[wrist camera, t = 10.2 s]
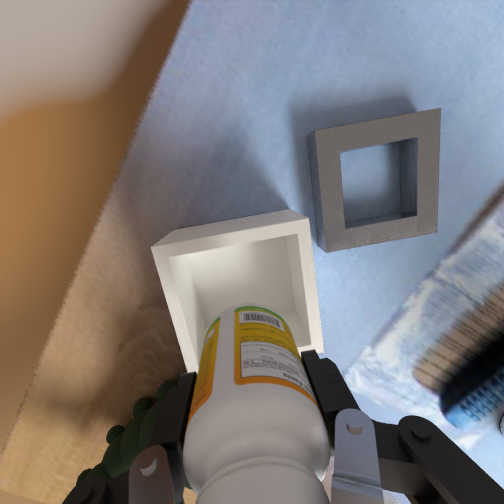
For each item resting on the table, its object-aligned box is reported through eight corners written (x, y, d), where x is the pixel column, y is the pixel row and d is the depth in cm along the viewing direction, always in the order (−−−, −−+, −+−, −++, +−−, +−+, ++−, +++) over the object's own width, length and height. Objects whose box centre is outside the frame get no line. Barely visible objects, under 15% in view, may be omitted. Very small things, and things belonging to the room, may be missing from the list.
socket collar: (420, 115, 24) (440, 107, 21) (419, 227, 27) (437, 232, 24) (306, 135, 24) (314, 130, 21) (318, 246, 27) (326, 252, 24)
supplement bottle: (230, 387, 17) (222, 653, 7) (188, 324, 15) (111, 553, 6) (304, 354, 16) (396, 587, 7) (268, 285, 15) (324, 463, 5)
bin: (289, 208, 25) (309, 218, 19) (303, 312, 29) (323, 352, 22) (173, 229, 25) (150, 247, 19) (200, 331, 29) (189, 377, 22)
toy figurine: (144, 450, 35) (294, 366, 30) (28, 746, 17) (351, 662, 12) (93, 409, 33) (247, 311, 28) (-104, 703, 15) (231, 576, 10)
